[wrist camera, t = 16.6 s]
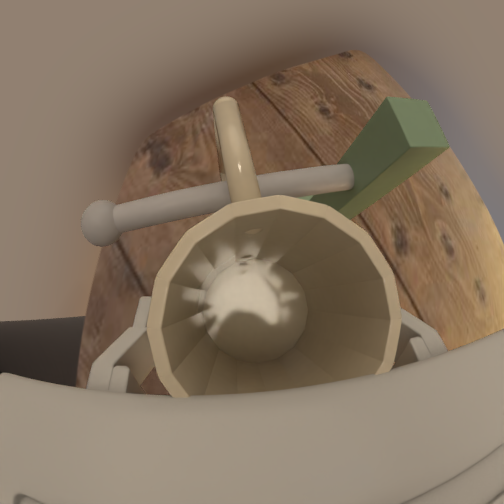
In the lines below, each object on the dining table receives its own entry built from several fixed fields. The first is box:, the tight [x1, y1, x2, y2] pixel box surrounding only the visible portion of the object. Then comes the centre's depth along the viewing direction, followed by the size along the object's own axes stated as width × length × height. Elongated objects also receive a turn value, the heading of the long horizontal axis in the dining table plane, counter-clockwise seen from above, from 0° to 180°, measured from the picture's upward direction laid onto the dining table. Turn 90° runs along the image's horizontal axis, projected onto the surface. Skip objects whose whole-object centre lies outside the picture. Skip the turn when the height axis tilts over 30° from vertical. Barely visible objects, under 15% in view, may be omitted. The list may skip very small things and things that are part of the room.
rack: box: [81, 97, 449, 247], centre depth 18 cm, size 19×10×23 cm, turn 102°
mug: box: [147, 96, 402, 398], centre depth 12 cm, size 12×7×10 cm, turn 12°
